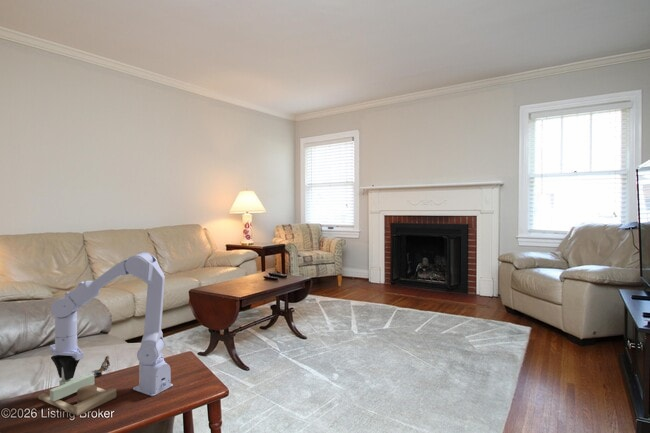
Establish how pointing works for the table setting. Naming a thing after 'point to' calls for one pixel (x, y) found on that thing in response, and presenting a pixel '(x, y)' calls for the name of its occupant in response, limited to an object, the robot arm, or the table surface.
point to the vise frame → (84, 405)
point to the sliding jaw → (70, 386)
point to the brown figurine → (103, 366)
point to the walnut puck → (86, 392)
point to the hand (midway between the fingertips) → (66, 377)
